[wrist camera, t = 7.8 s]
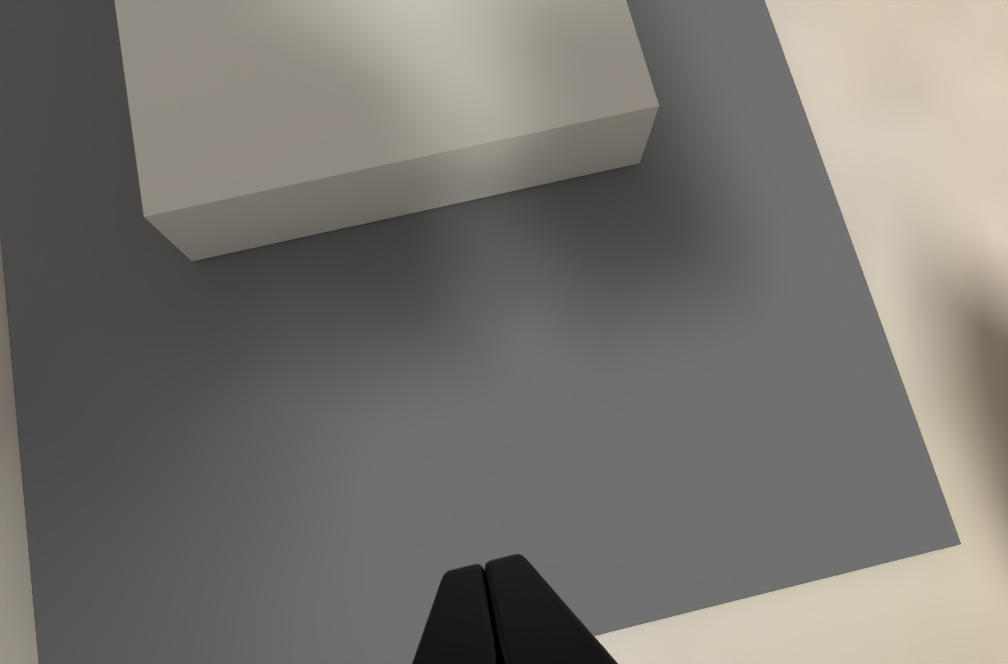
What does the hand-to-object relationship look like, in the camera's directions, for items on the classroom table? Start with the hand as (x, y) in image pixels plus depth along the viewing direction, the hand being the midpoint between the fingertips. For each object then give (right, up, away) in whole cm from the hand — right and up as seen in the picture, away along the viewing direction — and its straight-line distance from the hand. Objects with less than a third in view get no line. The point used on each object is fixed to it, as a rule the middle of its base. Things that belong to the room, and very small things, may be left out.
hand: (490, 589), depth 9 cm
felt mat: (-2, +7, +10) cm, 13 cm away
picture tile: (-2, +6, +8) cm, 10 cm away
